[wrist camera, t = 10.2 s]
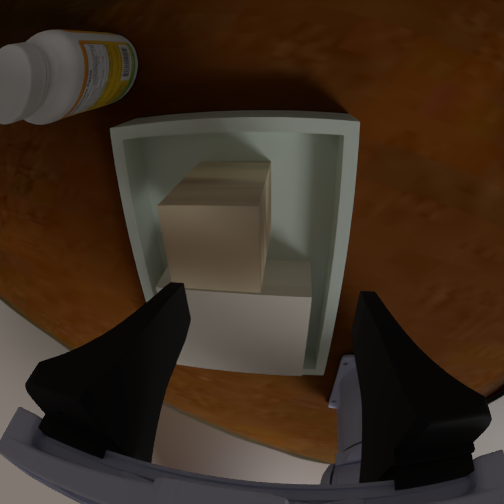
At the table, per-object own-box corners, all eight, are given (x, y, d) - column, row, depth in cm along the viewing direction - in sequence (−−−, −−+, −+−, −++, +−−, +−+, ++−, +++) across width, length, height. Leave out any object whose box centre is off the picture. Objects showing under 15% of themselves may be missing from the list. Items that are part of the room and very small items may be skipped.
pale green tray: (322, 345, 28) (323, 375, 25) (175, 334, 30) (164, 360, 27) (349, 113, 18) (359, 121, 15) (135, 118, 19) (109, 128, 16)
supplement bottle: (66, 77, 18) (-35, 101, 10) (107, 20, 16) (4, 12, 7) (108, 119, 20) (12, 161, 11) (155, 62, 17) (59, 66, 9)
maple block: (271, 226, 21) (260, 292, 15) (206, 224, 22) (172, 286, 16) (271, 161, 19) (258, 206, 13) (199, 162, 20) (157, 205, 14)
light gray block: (302, 339, 27) (301, 376, 23) (189, 330, 28) (177, 364, 24) (310, 261, 22) (311, 297, 19) (174, 254, 24) (155, 287, 20)
